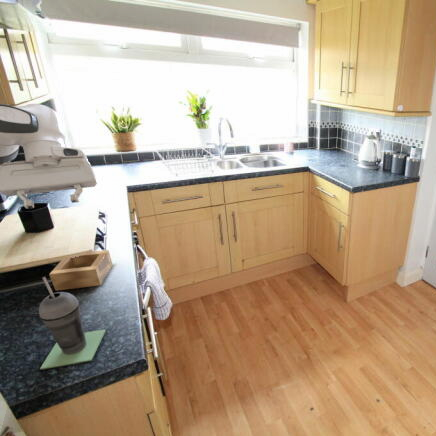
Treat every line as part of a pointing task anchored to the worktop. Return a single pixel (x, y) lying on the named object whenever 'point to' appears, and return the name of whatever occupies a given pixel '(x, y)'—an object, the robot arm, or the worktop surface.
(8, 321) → the worktop surface
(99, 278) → the holder
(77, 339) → the beverage cup
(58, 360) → the mat
